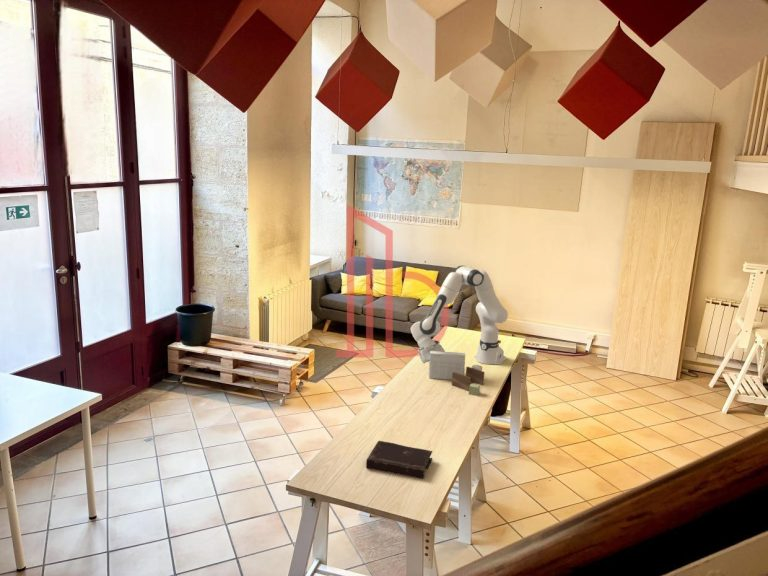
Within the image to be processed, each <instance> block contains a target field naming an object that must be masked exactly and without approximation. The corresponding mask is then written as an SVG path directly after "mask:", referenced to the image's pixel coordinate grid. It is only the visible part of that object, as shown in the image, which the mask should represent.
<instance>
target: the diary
mask: <svg viewBox="0 0 768 576" xmlns="http://www.w3.org/2000/svg"><path fill="white" fill-rule="evenodd" d="M432 454H433V450H428V449H422V448H417V447H411V446H406V445H402V444H399V443H394V442H390V441H389V442H388V441H383V440H377V442H376V444H375V445H374V447H373V449H372V450H371V452H370V453H369V455H368V457H367V458H366V461H365V468H366V469H370V470H375V471H381V472H387V473H391V474H396V475H397V474H398V475H402V476H408V477H413V478H418V479H422V480H423V479H425V471H426V470H429V467H430V466H431V463H432V461H433V457H431V456H432Z"/></svg>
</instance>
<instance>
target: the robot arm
mask: <svg viewBox="0 0 768 576" xmlns="http://www.w3.org/2000/svg"><path fill="white" fill-rule="evenodd" d="M463 285H467V286H470V287H474V290H475V293H476V296H477V299H478V301H479V302H478V303H477V304H476V305H475V312H476V314H477V316H478V319H479V322H480V331H481V332H480V339H479V346H477V352H476V355H475V356H474V358H475V359H476V362H478V363H480V364H481V363H482V364H485V365H501V364H502V363H504V362H505V361H507V360H508V356H505V355H504V354H505V352H504V350H503V348H501V346H500V344H501V343H502V340H501V339H500V340H499V328H498V326H497V324H503V323H504V322H506V321H507V320H508V317H509V312H508V310H507V309H506V308H505V307H504V306H503V305H502V303H501V301H500V300H499V298H498V297H497V295H496V292H495V290H494V286H493V282H492V280H491V278H490V276H489V274H488V273H487V271H486V270H483V269H480V270H479V269H475V268H473V267H472V266H467V265H458V266H457V267H455V268H454V270H453V271H451V272H449V273H448V274H447V276H446V277H445V279H444V281H443V282H442V285H441V287H440V289H439V291H438V293H437V296H436V298H435V299H434V300H435V301H433V304H432V305H431V307H430V309H429V311H428V312H427V314H426V316H425V317H424V318H422V319H421V320H420V321H416V322H414V323H413V324H412V325H411V326H410V332H411V335H412V338H414V340H415V341H416V342H417V345H418V347H419V348H418V349H417V354H418V356H419V359H420V361H421V363H423V364H427V363H430V351H439V352H446V350H445V349H444V347H443V345H441V344H440V341H439V340H436V339H432V337H433V336H436V335H438V334H439V333H440V331H441V330H442V327H441V324H440V322H439V321H438V318H439V316H440V314H441V312H442V310H443V309H444V308H445V307H446V306H447V305H450V304H452V303H453V302H454V301H455V299H456V298H457V296H458V294H459V293H460V290H461V288H462V287H463Z"/></svg>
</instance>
